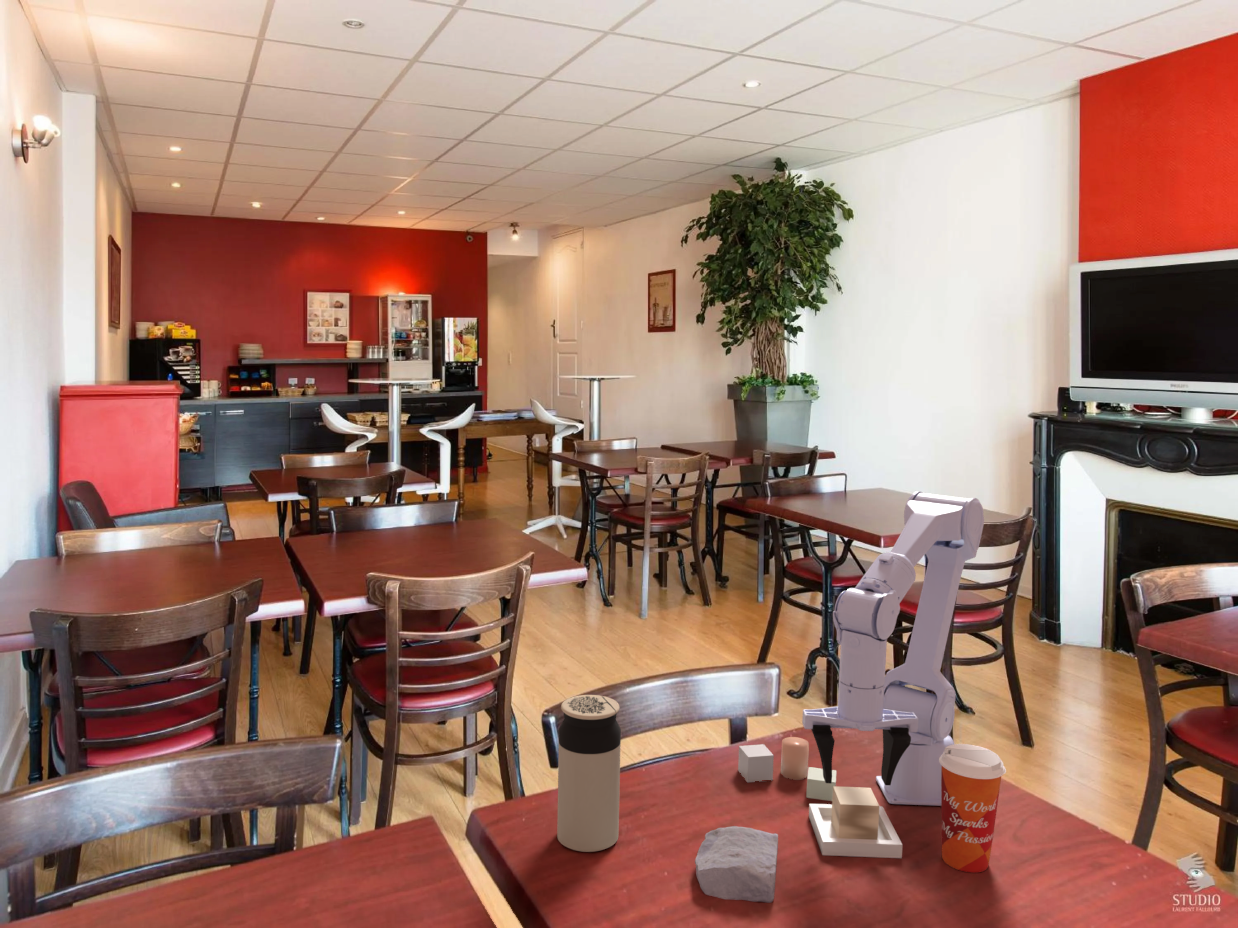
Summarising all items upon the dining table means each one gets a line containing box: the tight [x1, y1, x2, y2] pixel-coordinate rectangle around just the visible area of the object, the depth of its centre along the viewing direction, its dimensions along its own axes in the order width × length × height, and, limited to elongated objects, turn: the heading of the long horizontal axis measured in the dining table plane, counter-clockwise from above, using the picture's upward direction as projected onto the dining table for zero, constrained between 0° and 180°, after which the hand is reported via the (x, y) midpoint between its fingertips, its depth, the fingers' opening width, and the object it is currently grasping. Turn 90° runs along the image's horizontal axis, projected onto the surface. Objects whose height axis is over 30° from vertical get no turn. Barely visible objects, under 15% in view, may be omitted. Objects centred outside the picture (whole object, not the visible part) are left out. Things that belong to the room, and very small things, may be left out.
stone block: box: [694, 825, 779, 904], centre depth 111 cm, size 12×5×10 cm
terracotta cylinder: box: [780, 736, 810, 781], centre depth 138 cm, size 4×4×5 cm
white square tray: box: [808, 803, 903, 859], centre depth 121 cm, size 10×10×2 cm
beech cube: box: [831, 785, 880, 840], centre depth 120 cm, size 5×5×5 cm
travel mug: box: [556, 694, 622, 853], centre depth 118 cm, size 8×8×18 cm
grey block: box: [737, 743, 775, 783], centre depth 138 cm, size 4×4×4 cm
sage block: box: [805, 766, 837, 802], centre depth 133 cm, size 4×4×3 cm
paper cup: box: [939, 743, 1007, 874], centre depth 115 cm, size 8×8×14 cm
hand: (856, 780), depth 120 cm, fingers open, 7 cm apart
